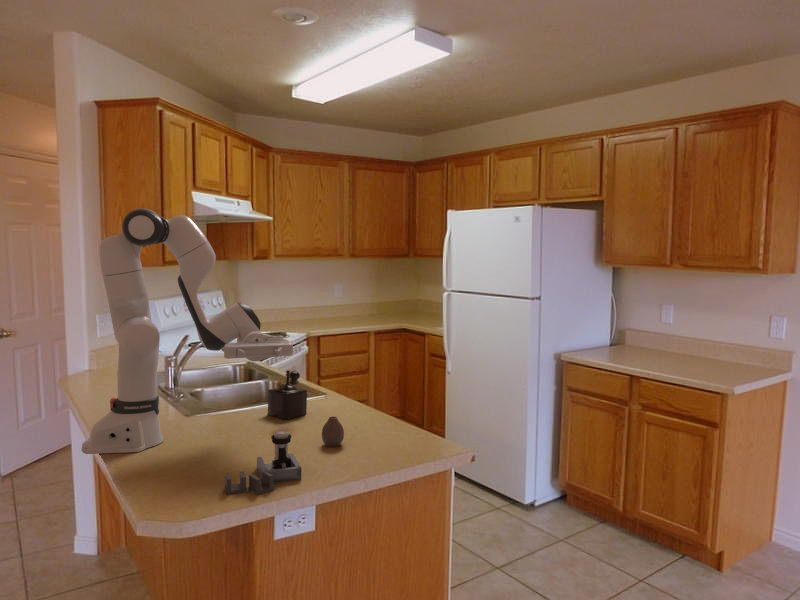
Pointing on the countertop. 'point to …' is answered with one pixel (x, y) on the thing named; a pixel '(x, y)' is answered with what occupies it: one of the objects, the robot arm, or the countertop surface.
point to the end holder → (281, 470)
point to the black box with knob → (287, 399)
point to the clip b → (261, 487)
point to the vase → (332, 432)
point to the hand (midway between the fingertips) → (262, 354)
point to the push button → (281, 450)
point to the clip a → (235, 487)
